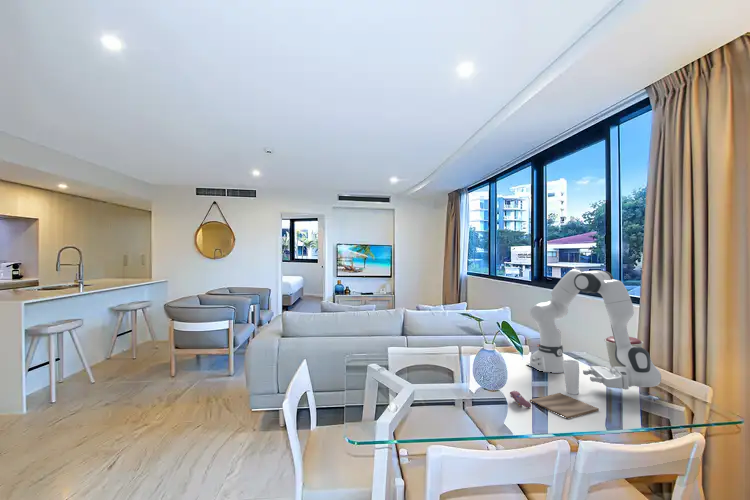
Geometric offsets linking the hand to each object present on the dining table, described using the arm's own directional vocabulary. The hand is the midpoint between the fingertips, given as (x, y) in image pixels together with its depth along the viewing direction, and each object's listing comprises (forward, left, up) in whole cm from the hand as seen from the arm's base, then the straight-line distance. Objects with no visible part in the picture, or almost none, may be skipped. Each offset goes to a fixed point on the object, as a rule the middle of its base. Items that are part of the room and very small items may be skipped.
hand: (586, 375), depth 173 cm
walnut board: (+5, -22, -8) cm, 24 cm away
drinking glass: (-4, -6, -9) cm, 11 cm away
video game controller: (-4, -37, -9) cm, 38 cm away
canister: (-15, +46, -9) cm, 49 cm away
